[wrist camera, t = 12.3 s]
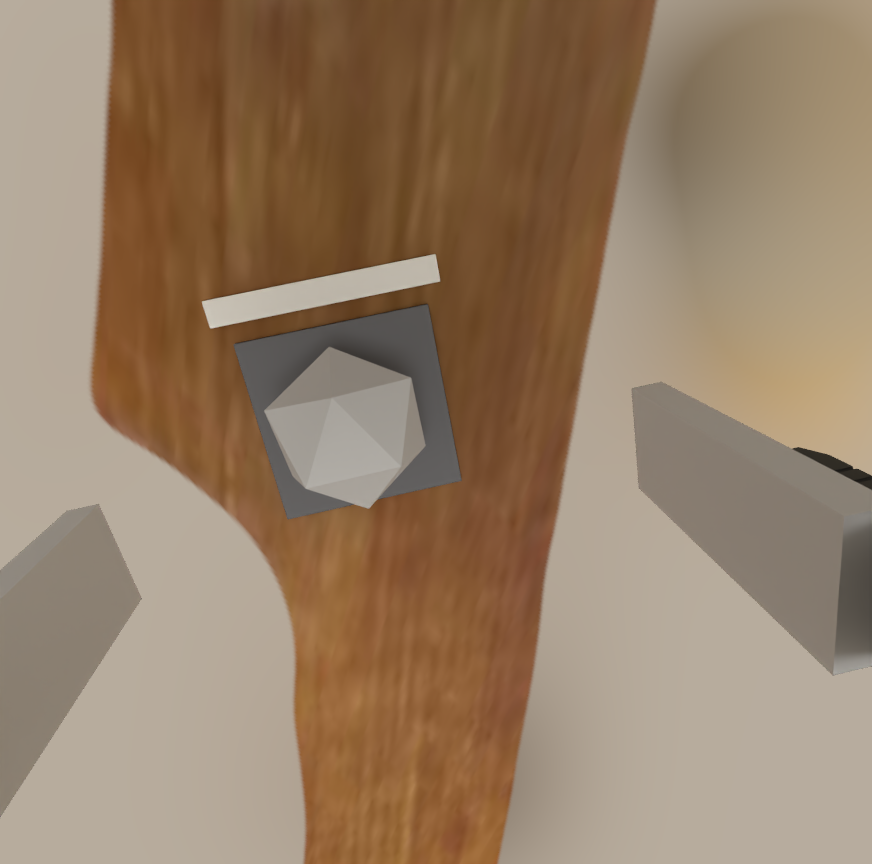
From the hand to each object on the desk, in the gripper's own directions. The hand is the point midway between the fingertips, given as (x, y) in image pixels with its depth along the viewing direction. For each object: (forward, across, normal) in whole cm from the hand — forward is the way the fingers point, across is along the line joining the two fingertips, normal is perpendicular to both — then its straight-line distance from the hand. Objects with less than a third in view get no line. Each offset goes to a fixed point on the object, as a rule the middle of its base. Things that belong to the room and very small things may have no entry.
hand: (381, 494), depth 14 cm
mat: (+22, -3, -4) cm, 23 cm away
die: (+22, -3, -4) cm, 23 cm away
